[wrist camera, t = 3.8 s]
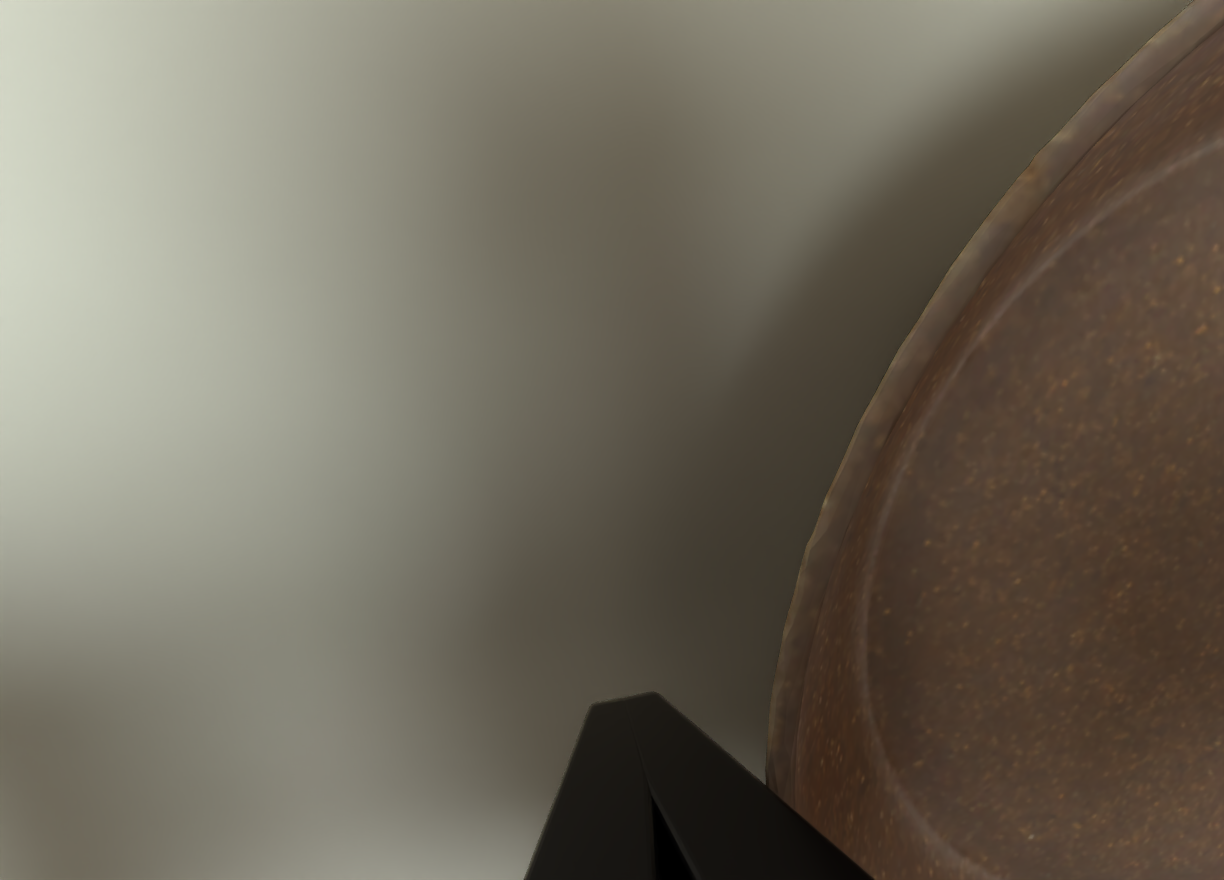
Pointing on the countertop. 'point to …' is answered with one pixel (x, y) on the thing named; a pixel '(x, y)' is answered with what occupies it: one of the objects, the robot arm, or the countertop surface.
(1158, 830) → the saucer
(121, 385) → the countertop surface
